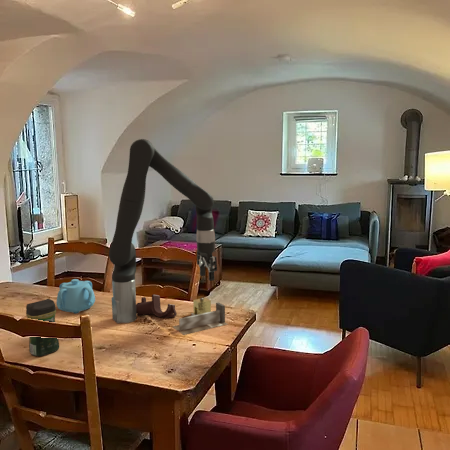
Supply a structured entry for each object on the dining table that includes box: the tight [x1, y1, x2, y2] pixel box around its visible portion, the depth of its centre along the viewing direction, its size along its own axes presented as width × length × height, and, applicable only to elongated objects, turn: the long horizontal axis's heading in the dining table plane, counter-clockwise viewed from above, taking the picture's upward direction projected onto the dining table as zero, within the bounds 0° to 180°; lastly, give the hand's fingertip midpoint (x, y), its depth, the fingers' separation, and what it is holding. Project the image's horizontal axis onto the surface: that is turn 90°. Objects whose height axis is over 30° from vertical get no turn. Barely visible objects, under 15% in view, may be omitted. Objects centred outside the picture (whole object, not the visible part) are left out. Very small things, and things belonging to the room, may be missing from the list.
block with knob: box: [192, 297, 212, 315], centre depth 196 cm, size 6×4×7 cm
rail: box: [172, 301, 229, 336], centre depth 183 cm, size 20×10×8 cm, turn 122°
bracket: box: [136, 294, 177, 319], centre depth 196 cm, size 6×17×10 cm, turn 76°
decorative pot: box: [55, 278, 96, 314], centre depth 205 cm, size 16×16×14 cm
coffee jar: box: [25, 298, 60, 357], centre depth 162 cm, size 10×8×19 cm
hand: (207, 278), depth 193 cm, fingers open, 8 cm apart
